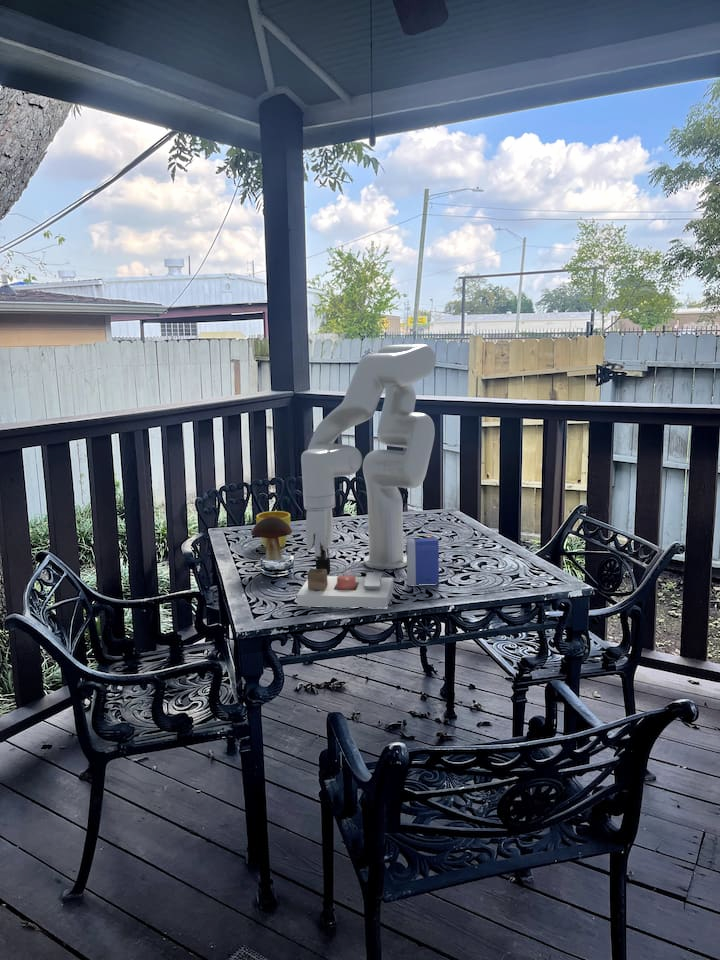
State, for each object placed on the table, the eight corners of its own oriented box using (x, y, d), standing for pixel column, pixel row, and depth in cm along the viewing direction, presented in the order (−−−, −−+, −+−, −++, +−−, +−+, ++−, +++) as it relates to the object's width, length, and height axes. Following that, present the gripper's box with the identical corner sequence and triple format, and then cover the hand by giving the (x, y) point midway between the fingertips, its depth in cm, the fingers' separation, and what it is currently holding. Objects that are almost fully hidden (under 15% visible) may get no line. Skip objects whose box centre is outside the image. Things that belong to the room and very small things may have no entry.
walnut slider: (311, 584, 157) (310, 568, 156) (327, 585, 156) (326, 569, 156) (308, 589, 154) (307, 573, 153) (324, 589, 153) (324, 573, 153)
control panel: (310, 587, 165) (309, 572, 164) (393, 589, 161) (393, 574, 161) (297, 607, 152) (296, 591, 151) (387, 609, 149) (387, 593, 148)
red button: (339, 586, 159) (338, 574, 158) (357, 586, 158) (356, 575, 158) (335, 593, 155) (335, 581, 154) (354, 593, 154) (353, 581, 153)
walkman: (436, 581, 166) (436, 535, 164) (438, 585, 163) (438, 539, 161) (405, 583, 165) (405, 537, 163) (407, 587, 163) (407, 540, 160)
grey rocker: (367, 575, 158) (367, 572, 158) (382, 575, 157) (382, 572, 157) (364, 588, 153) (363, 585, 152) (379, 589, 152) (379, 586, 152)
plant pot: (294, 540, 205) (293, 510, 203) (288, 550, 195) (286, 519, 193) (262, 540, 206) (260, 510, 204) (254, 550, 196) (252, 519, 194)
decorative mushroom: (302, 568, 179) (299, 515, 176) (271, 579, 171) (268, 524, 168) (275, 560, 186) (272, 509, 183) (245, 571, 178) (241, 518, 175)
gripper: (311, 493, 164) (315, 563, 168) (296, 509, 150) (301, 584, 154) (340, 493, 163) (343, 563, 167) (328, 509, 148) (332, 585, 152)
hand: (323, 573), depth 160 cm, fingers closed
